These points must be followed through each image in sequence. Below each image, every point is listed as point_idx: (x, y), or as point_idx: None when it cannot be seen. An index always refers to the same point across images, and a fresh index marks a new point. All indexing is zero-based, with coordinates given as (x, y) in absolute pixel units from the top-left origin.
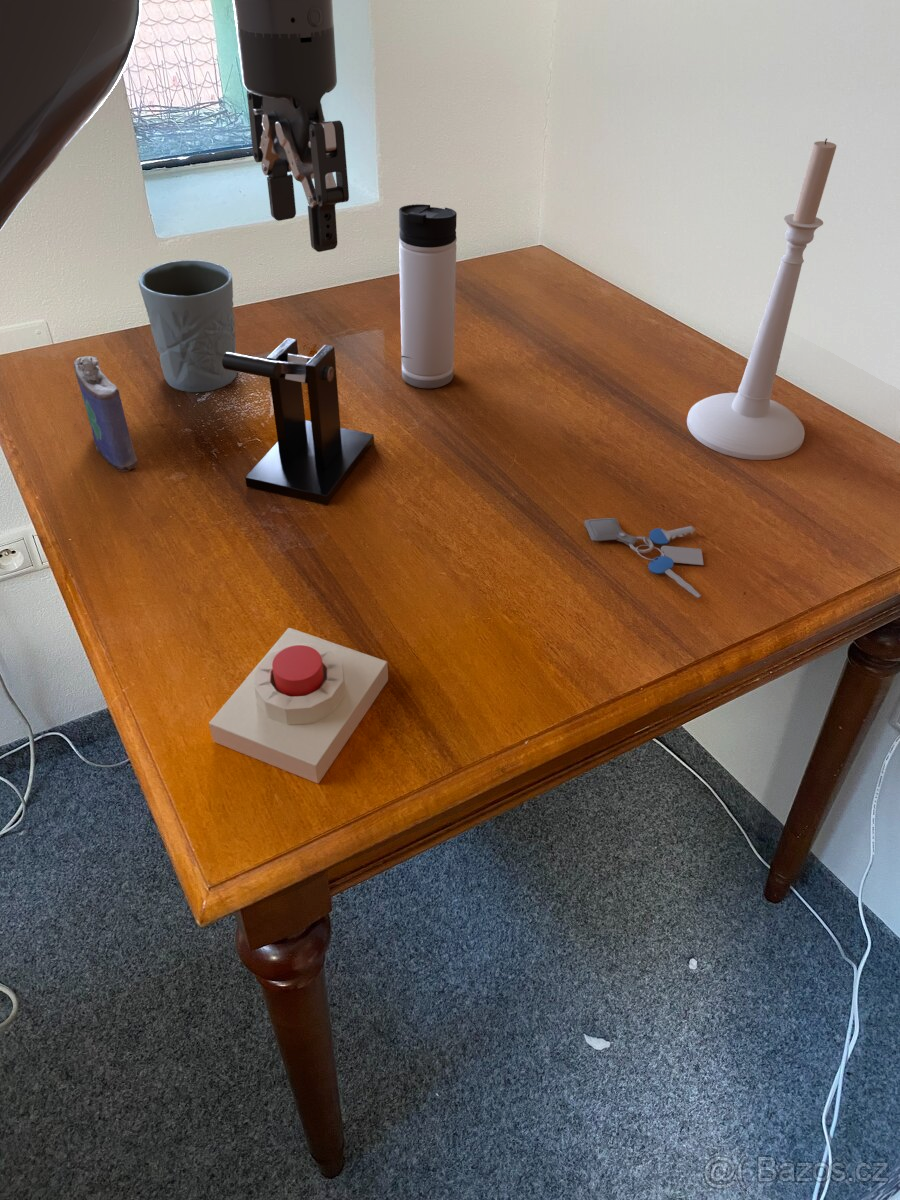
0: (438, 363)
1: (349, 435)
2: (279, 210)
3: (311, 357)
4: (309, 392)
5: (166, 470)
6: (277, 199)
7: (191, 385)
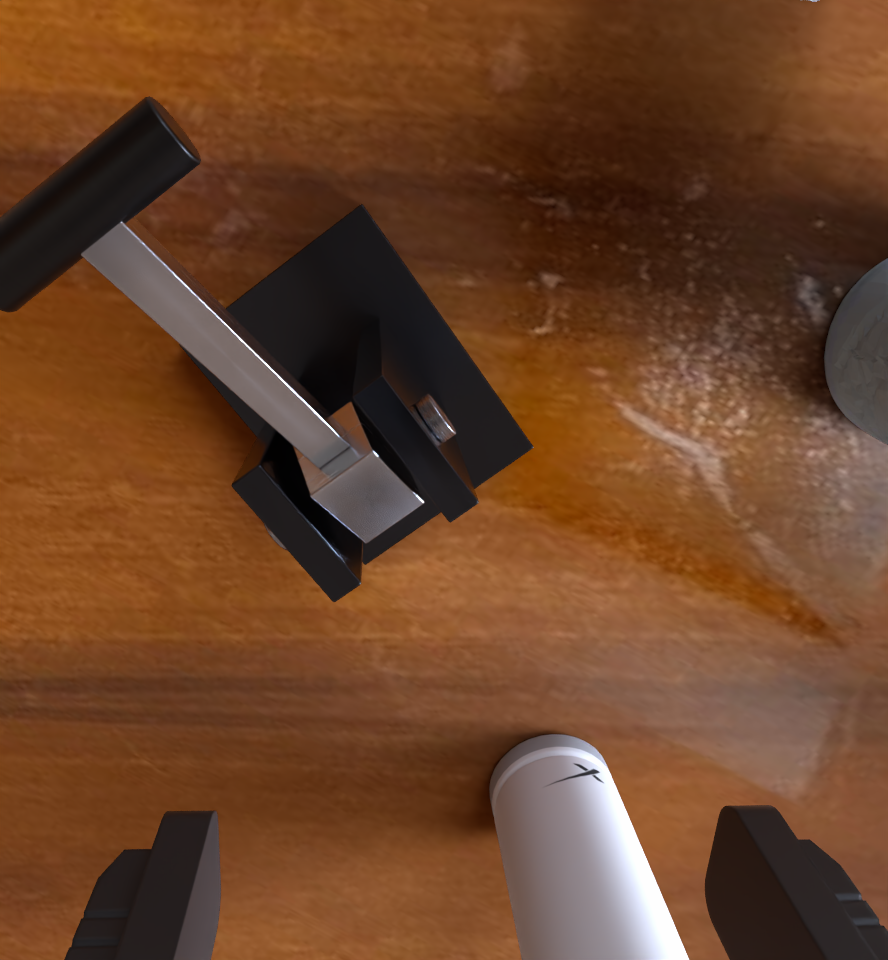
0: (499, 823)
1: None
2: (744, 865)
3: (363, 519)
4: (268, 438)
5: (553, 49)
6: (776, 917)
7: (864, 285)
